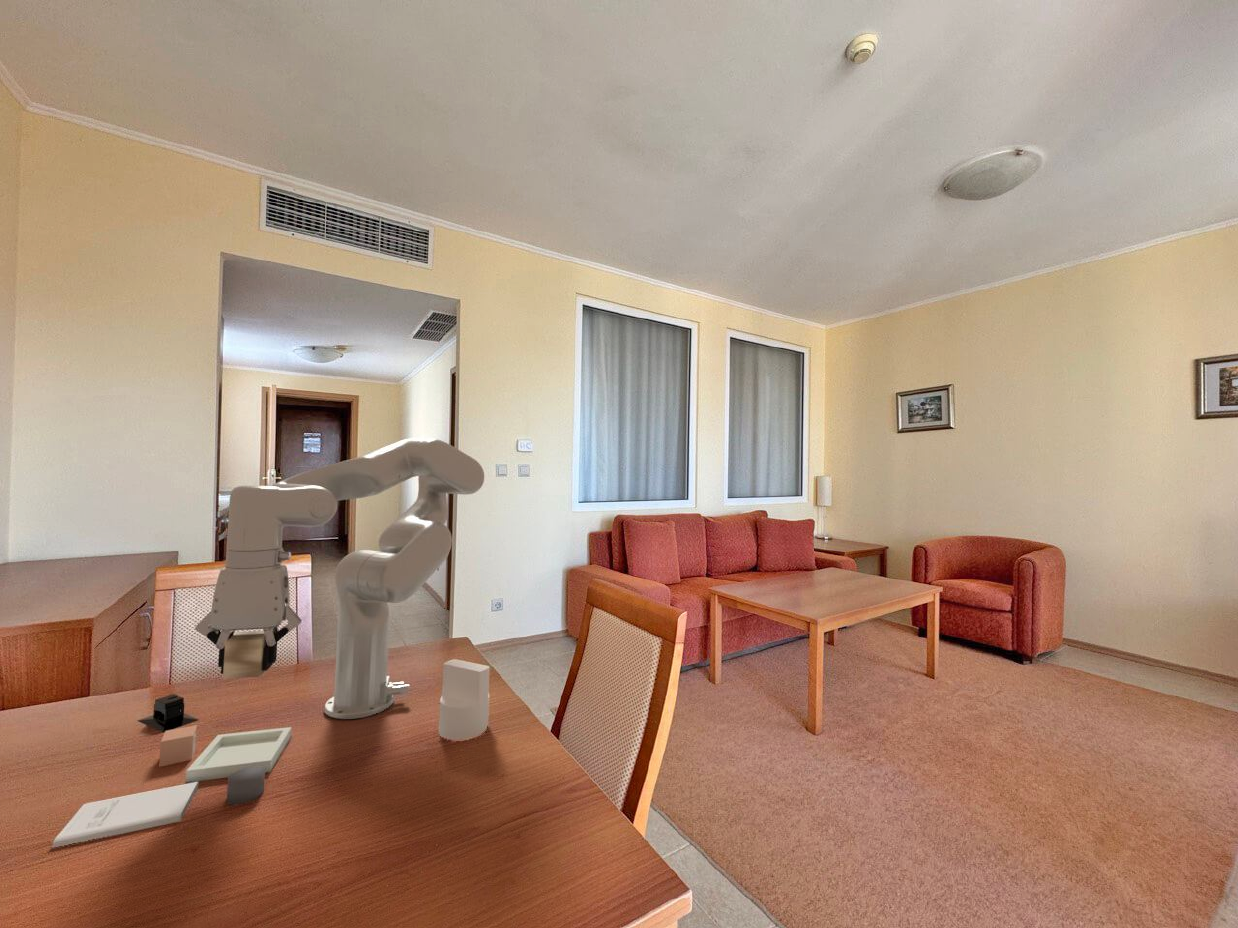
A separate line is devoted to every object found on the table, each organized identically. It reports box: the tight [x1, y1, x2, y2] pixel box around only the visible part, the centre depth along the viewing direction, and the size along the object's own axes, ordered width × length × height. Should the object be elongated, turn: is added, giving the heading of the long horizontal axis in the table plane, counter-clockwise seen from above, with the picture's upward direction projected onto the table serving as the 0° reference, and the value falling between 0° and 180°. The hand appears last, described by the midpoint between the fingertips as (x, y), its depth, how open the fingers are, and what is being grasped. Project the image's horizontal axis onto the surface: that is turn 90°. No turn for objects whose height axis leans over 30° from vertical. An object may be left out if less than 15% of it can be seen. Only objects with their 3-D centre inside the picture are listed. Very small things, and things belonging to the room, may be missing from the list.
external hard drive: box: [52, 781, 200, 849], centre depth 69 cm, size 2×8×12 cm
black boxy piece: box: [137, 693, 200, 733], centre depth 94 cm, size 12×7×5 cm, turn 65°
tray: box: [185, 726, 293, 784], centre depth 83 cm, size 11×11×2 cm
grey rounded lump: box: [226, 766, 266, 805], centre depth 74 cm, size 4×4×3 cm
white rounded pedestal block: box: [438, 658, 491, 740], centre depth 95 cm, size 9×9×12 cm
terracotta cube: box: [158, 724, 198, 768], centre depth 83 cm, size 4×4×4 cm
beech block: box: [222, 630, 266, 680], centre depth 83 cm, size 5×5×6 cm
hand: (247, 668), depth 83 cm, fingers closed on beech block, 5 cm apart
